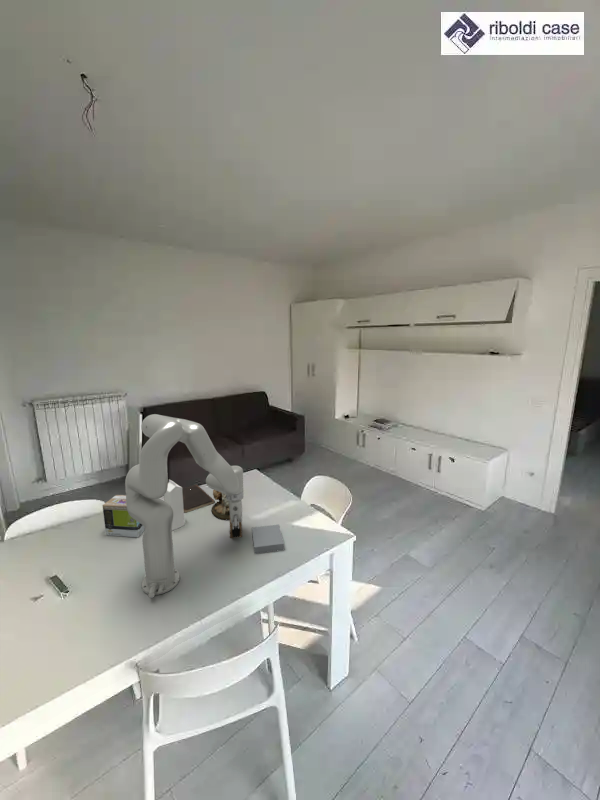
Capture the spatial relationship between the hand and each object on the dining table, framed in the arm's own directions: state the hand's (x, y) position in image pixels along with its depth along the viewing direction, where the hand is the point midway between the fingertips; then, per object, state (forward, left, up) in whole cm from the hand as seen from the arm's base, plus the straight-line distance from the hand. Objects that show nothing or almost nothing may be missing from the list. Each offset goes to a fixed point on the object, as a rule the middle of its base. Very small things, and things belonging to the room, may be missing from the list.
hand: (235, 531), depth 149 cm
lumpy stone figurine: (+20, +5, -2) cm, 21 cm away
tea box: (+12, +47, -2) cm, 49 cm away
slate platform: (-8, -13, -1) cm, 15 cm away
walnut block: (0, 0, -1) cm, 1 cm away
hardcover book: (+36, +22, -2) cm, 42 cm away
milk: (+12, +27, -2) cm, 30 cm away
